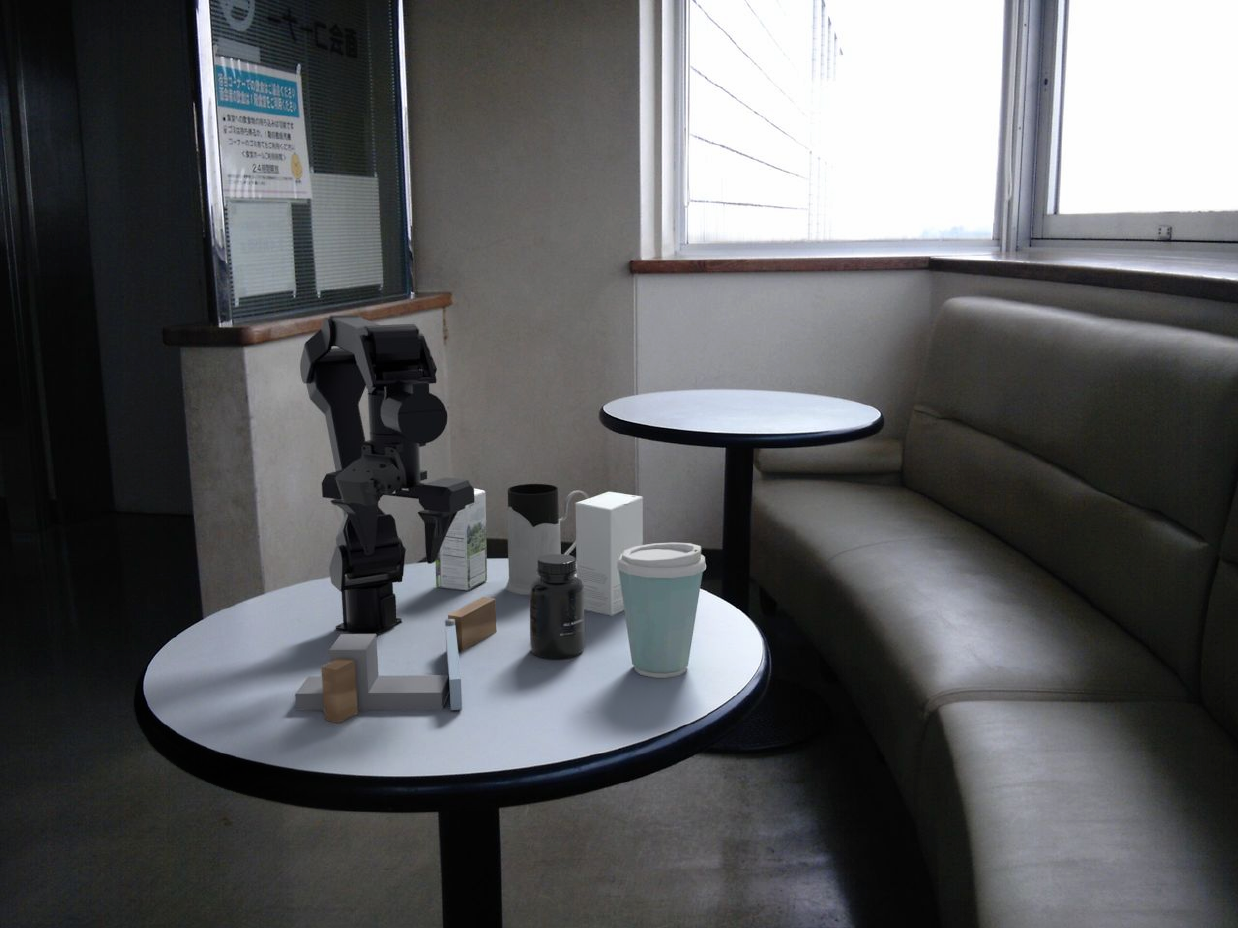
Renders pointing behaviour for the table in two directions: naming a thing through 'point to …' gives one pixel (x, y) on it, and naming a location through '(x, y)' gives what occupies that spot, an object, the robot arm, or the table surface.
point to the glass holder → (532, 531)
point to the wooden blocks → (340, 673)
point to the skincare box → (605, 546)
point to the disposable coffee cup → (661, 604)
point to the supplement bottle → (556, 608)
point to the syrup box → (464, 548)
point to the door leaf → (453, 665)
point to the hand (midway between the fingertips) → (399, 558)
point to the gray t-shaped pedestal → (375, 681)
